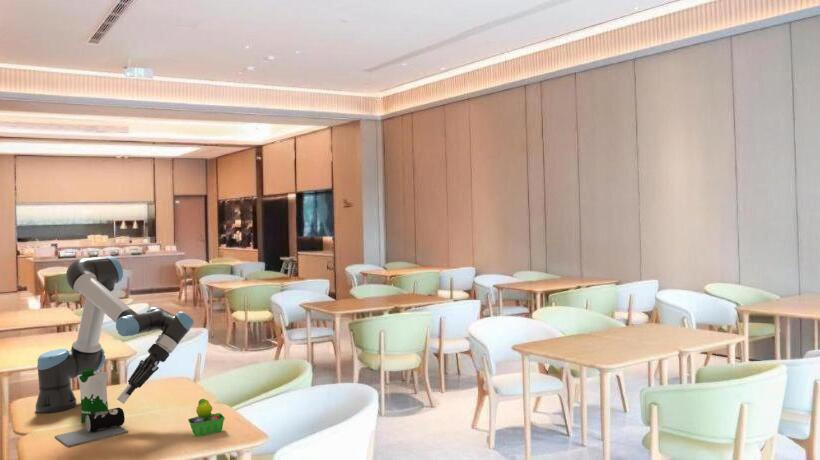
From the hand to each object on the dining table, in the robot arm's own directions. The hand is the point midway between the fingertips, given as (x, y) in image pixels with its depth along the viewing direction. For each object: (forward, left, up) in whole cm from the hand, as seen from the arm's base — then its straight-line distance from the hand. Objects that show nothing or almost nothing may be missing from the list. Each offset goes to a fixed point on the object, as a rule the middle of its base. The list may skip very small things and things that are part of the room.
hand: (120, 401), depth 251 cm
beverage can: (-1, +1, -6) cm, 6 cm away
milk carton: (-18, -4, -10) cm, 21 cm away
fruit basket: (+31, +18, -10) cm, 37 cm away
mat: (0, -11, -10) cm, 14 cm away
